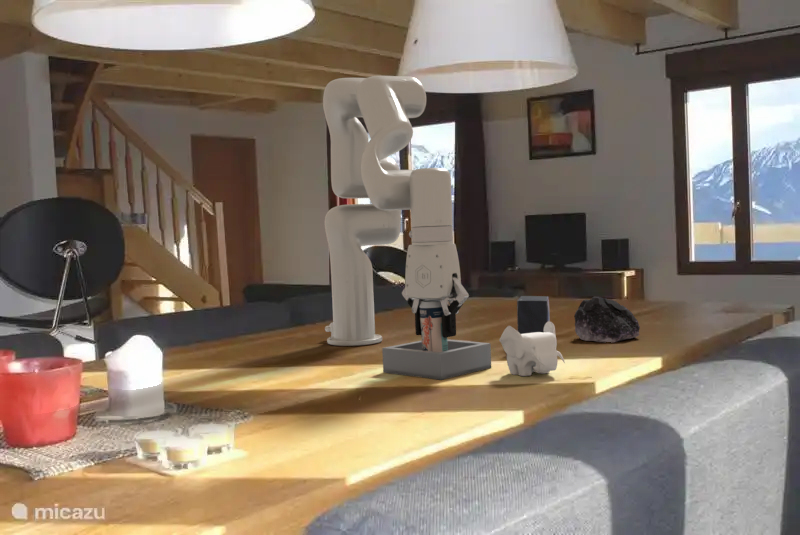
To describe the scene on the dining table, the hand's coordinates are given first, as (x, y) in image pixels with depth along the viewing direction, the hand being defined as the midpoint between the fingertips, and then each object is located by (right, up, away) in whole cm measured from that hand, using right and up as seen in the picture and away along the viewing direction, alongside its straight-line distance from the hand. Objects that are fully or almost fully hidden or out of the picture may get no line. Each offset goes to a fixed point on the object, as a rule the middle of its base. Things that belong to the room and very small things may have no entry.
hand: (435, 334), depth 158 cm
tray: (0, -7, 0) cm, 7 cm away
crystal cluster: (+39, -4, +32) cm, 51 cm away
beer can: (0, -6, 0) cm, 6 cm away
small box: (+22, -5, +23) cm, 32 cm away
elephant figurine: (+17, -7, -8) cm, 20 cm away
